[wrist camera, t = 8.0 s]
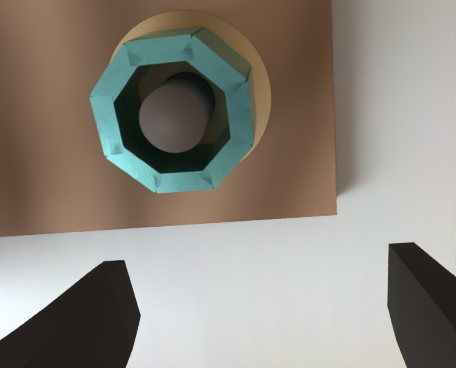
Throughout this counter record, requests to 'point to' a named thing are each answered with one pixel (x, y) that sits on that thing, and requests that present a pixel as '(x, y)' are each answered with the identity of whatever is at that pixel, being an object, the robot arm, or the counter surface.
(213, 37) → the ring
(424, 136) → the counter surface
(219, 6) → the board
